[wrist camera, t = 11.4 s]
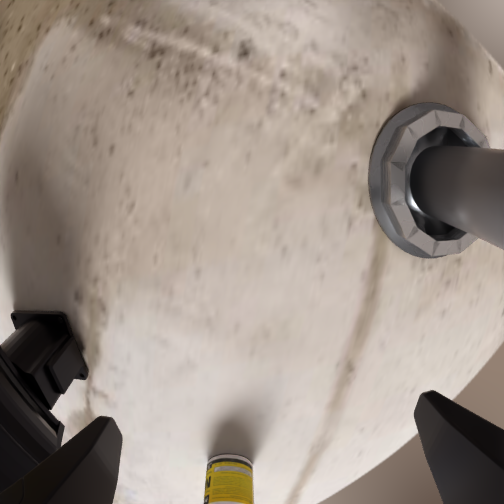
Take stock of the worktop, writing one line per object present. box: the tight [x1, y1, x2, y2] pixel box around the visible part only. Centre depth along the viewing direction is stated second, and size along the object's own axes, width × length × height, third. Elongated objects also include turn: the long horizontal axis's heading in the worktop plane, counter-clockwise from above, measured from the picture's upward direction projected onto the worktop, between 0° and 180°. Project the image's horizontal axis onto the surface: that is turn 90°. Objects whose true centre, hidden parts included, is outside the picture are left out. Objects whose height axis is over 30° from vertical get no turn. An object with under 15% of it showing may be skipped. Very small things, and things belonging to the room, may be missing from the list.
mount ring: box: [368, 103, 491, 258], centre depth 17 cm, size 11×11×2 cm
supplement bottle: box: [204, 454, 254, 504], centre depth 23 cm, size 5×5×8 cm
